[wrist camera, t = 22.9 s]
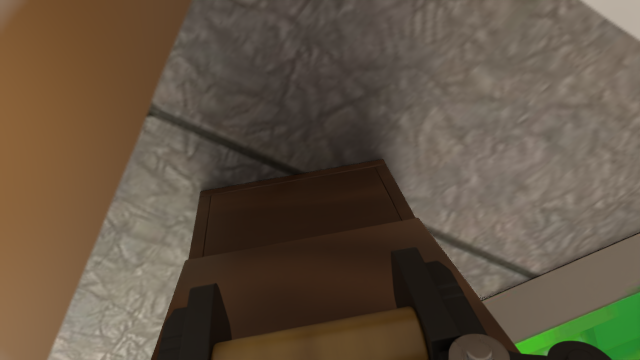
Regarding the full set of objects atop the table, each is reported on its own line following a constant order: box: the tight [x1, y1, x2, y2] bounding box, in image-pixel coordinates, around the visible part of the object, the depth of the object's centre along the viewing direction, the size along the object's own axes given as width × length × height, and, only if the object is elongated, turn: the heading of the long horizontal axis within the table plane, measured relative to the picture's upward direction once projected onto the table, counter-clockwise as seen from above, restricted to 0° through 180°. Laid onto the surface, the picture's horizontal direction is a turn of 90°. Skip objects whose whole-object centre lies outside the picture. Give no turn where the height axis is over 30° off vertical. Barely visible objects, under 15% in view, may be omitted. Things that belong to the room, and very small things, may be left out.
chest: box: [188, 159, 415, 260], centre depth 34 cm, size 16×13×8 cm
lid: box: [151, 218, 521, 360], centre depth 18 cm, size 16×13×5 cm
